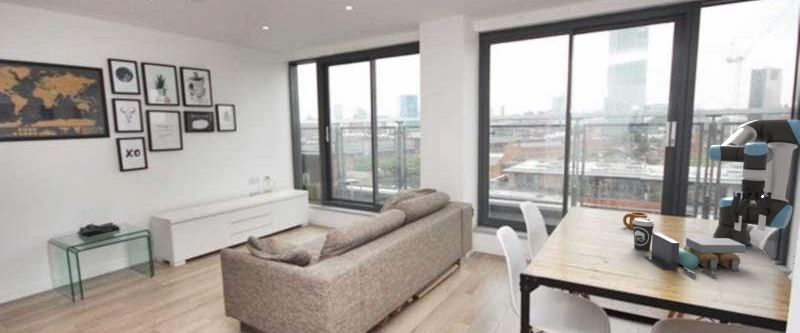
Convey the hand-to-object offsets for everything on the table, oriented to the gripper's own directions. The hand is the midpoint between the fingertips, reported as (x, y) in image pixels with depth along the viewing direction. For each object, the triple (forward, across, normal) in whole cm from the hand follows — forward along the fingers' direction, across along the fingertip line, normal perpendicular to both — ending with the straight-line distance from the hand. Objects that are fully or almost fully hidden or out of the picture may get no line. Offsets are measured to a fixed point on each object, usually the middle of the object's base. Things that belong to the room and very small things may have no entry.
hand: (749, 230), depth 172 cm
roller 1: (+16, +27, 0) cm, 31 cm away
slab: (+9, +14, 0) cm, 16 cm away
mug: (+16, +19, -58) cm, 63 cm away
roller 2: (+15, +20, 0) cm, 25 cm away
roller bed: (+15, +21, +4) cm, 26 cm away
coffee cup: (+16, +34, -20) cm, 42 cm away
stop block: (+15, +36, 0) cm, 39 cm away
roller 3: (+15, +11, 0) cm, 19 cm away
